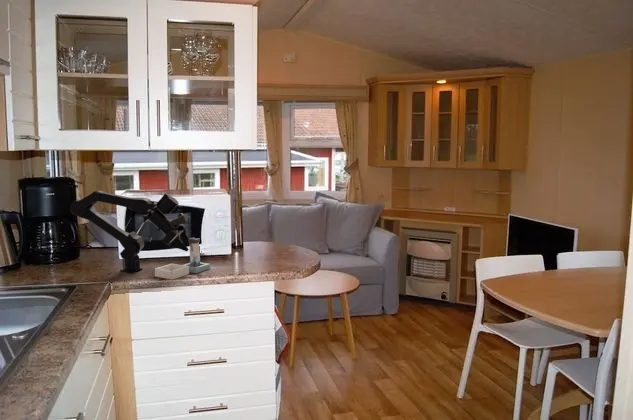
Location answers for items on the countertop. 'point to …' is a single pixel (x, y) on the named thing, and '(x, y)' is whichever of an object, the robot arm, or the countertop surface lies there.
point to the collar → (198, 269)
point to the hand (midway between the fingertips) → (190, 248)
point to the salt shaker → (194, 252)
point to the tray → (171, 271)
